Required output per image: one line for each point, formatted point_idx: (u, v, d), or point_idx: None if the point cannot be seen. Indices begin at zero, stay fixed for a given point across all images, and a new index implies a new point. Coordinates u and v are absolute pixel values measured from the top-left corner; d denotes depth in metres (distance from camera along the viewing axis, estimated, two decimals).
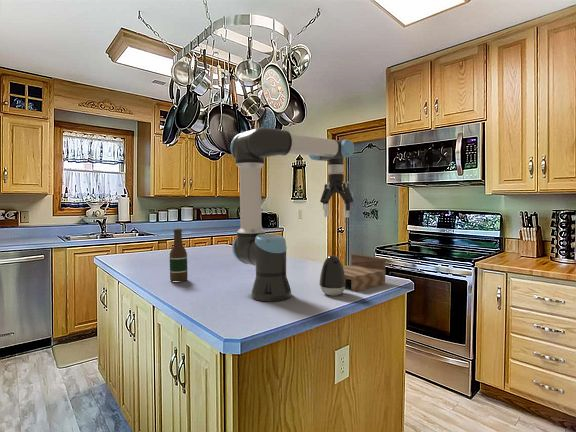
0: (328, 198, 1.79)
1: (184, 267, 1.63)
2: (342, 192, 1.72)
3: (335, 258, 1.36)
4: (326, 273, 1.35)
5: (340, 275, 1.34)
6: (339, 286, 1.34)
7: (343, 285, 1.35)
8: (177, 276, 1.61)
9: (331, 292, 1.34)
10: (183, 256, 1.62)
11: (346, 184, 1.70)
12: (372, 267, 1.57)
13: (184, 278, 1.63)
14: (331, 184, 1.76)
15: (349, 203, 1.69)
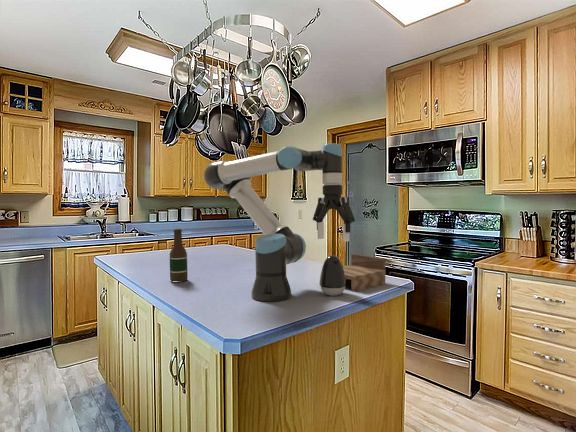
0: (323, 215, 1.41)
1: (184, 267, 1.63)
2: (340, 208, 1.33)
3: (335, 258, 1.36)
4: (326, 273, 1.35)
5: (340, 275, 1.34)
6: (339, 286, 1.34)
7: (343, 285, 1.35)
8: (177, 276, 1.61)
9: (331, 292, 1.34)
10: (183, 256, 1.62)
11: (345, 199, 1.31)
12: (372, 267, 1.57)
13: (184, 278, 1.63)
14: (326, 198, 1.37)
15: (349, 223, 1.30)
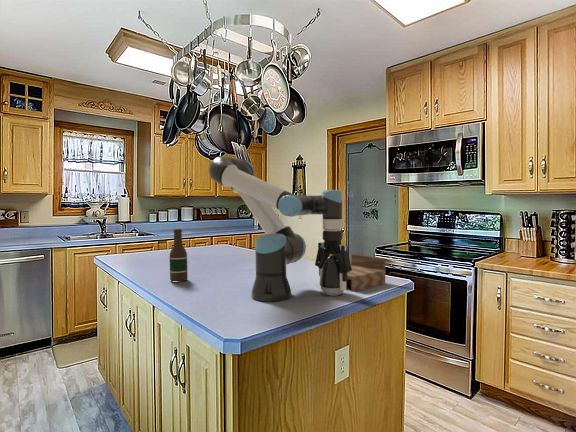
0: (324, 261, 1.41)
1: (184, 267, 1.63)
2: (339, 256, 1.34)
3: (335, 258, 1.36)
4: (326, 273, 1.35)
5: None
6: (339, 286, 1.34)
7: None
8: (177, 276, 1.61)
9: (331, 293, 1.34)
10: (183, 256, 1.62)
11: (345, 247, 1.32)
12: (372, 267, 1.57)
13: (184, 278, 1.63)
14: (326, 242, 1.38)
15: (346, 272, 1.32)
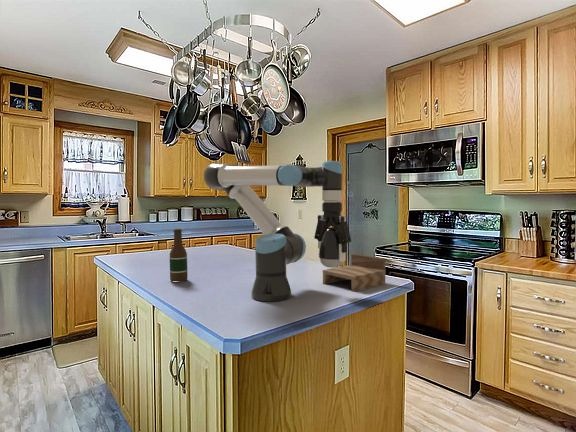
0: None
1: (183, 267, 1.63)
2: (339, 227, 1.34)
3: (335, 230, 1.35)
4: (325, 244, 1.34)
5: None
6: (338, 257, 1.33)
7: None
8: (177, 276, 1.61)
9: (330, 264, 1.34)
10: (183, 256, 1.62)
11: (345, 218, 1.32)
12: (372, 267, 1.57)
13: (184, 278, 1.63)
14: (326, 214, 1.38)
15: (346, 243, 1.32)
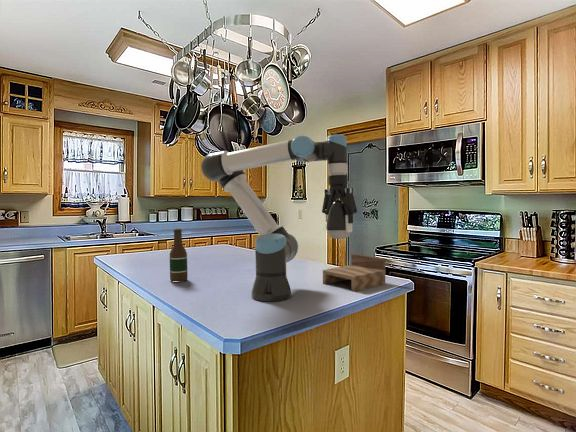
0: None
1: (184, 267, 1.63)
2: (345, 199, 1.37)
3: (341, 202, 1.39)
4: (332, 216, 1.37)
5: None
6: (345, 228, 1.36)
7: None
8: (177, 276, 1.61)
9: (337, 235, 1.37)
10: (183, 256, 1.62)
11: (350, 190, 1.35)
12: (372, 267, 1.57)
13: (184, 278, 1.63)
14: (332, 187, 1.41)
15: (352, 214, 1.35)
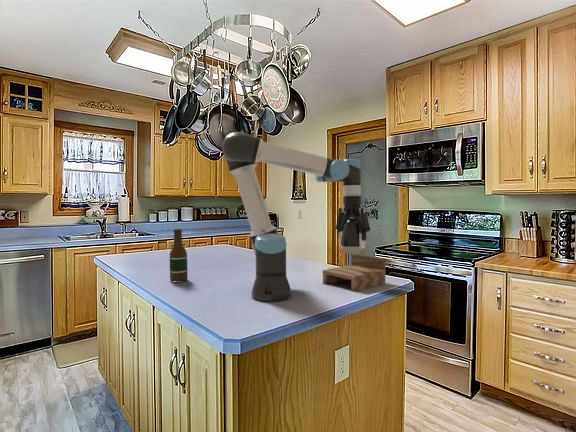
0: (344, 224, 1.56)
1: (184, 267, 1.63)
2: (359, 218, 1.50)
3: (355, 220, 1.51)
4: (346, 233, 1.50)
5: None
6: None
7: None
8: (177, 276, 1.61)
9: (351, 251, 1.49)
10: (183, 256, 1.62)
11: (364, 210, 1.47)
12: (372, 267, 1.57)
13: (184, 278, 1.63)
14: (346, 207, 1.54)
15: (365, 232, 1.48)
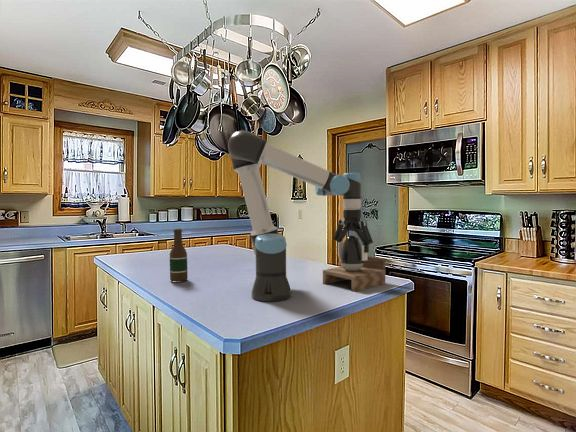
0: (343, 236, 1.57)
1: (184, 267, 1.63)
2: (359, 231, 1.50)
3: (354, 237, 1.52)
4: (346, 250, 1.50)
5: (359, 252, 1.50)
6: (358, 262, 1.49)
7: (362, 261, 1.50)
8: (177, 276, 1.61)
9: (351, 268, 1.50)
10: (183, 256, 1.62)
11: (364, 222, 1.48)
12: (372, 267, 1.57)
13: (184, 278, 1.63)
14: (346, 221, 1.54)
15: (368, 244, 1.47)
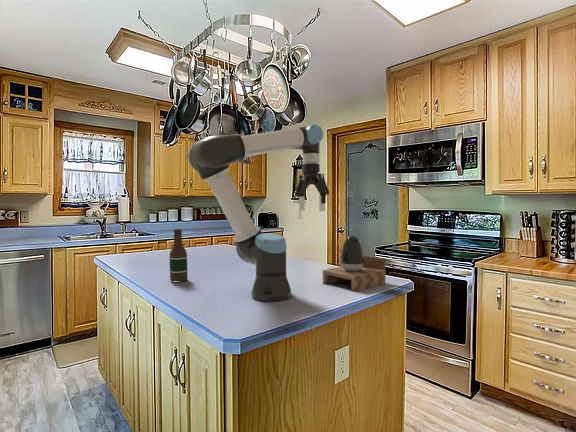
0: (303, 190, 1.65)
1: (184, 267, 1.63)
2: (317, 183, 1.57)
3: (355, 238, 1.51)
4: (346, 251, 1.50)
5: (359, 252, 1.50)
6: (358, 262, 1.49)
7: (362, 262, 1.50)
8: (177, 276, 1.61)
9: (351, 268, 1.50)
10: (183, 256, 1.62)
11: (321, 175, 1.55)
12: (372, 267, 1.57)
13: (184, 278, 1.63)
14: (306, 175, 1.61)
15: (325, 195, 1.54)
